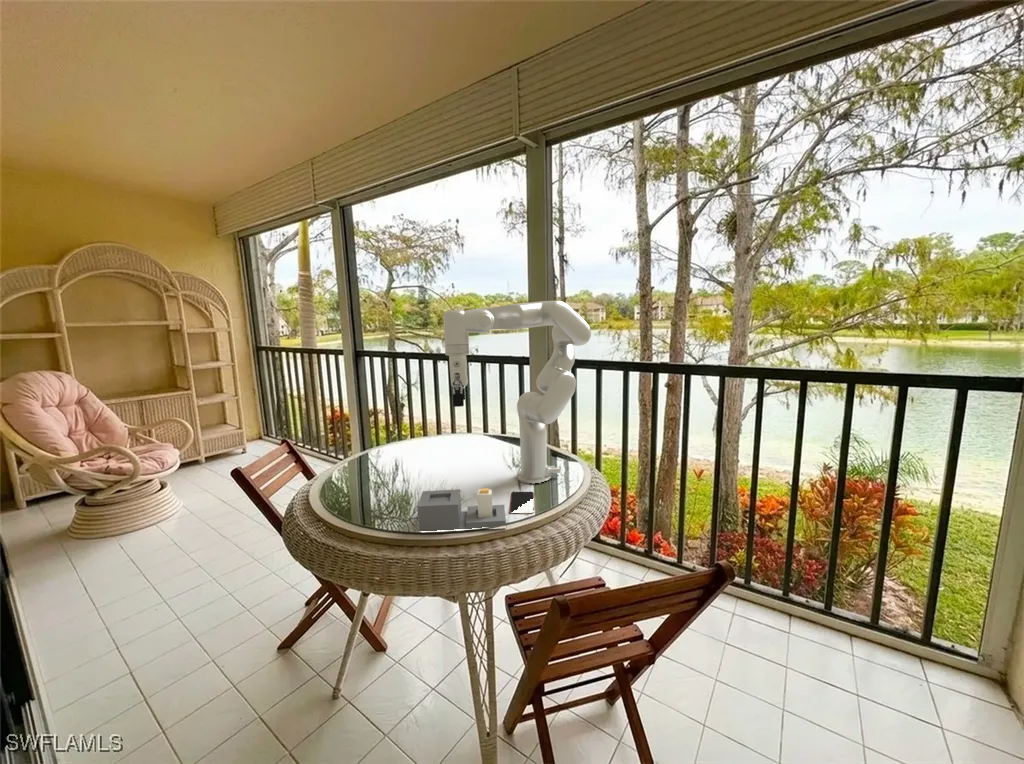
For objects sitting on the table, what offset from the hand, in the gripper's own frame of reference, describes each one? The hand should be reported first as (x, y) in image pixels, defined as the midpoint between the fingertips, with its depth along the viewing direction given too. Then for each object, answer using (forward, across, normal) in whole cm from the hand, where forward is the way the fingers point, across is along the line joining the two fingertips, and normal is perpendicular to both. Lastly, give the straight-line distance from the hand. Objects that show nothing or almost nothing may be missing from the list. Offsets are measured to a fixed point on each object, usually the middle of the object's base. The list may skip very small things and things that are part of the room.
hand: (459, 403), depth 136 cm
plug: (+30, -19, -7) cm, 37 cm away
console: (+31, -19, -1) cm, 37 cm away
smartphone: (+32, -8, -19) cm, 38 cm away
